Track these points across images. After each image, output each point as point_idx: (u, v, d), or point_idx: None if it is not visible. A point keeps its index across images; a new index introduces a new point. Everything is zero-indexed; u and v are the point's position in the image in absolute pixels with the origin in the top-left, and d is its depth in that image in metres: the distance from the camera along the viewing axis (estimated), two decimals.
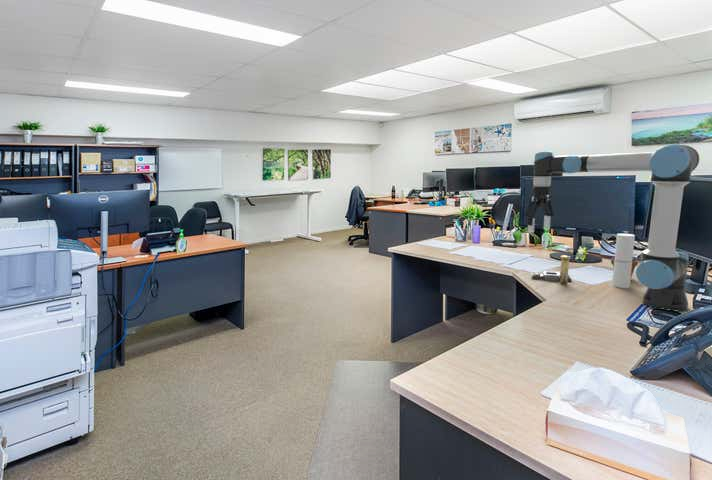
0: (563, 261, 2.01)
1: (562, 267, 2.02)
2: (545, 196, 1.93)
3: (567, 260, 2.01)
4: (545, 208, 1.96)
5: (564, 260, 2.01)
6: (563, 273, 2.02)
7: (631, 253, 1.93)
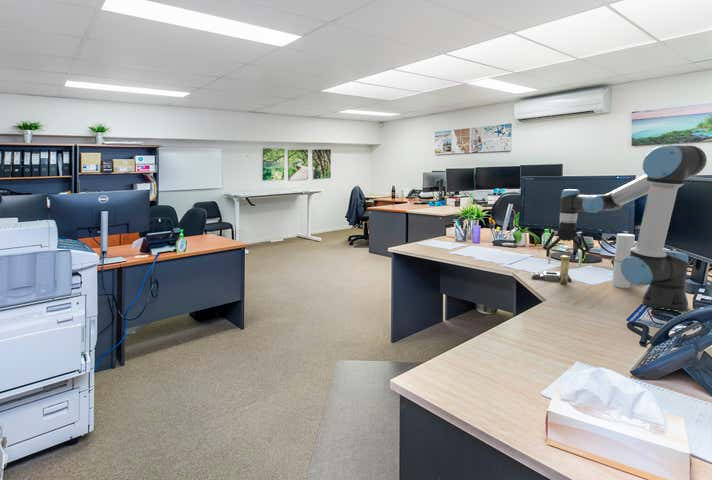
0: (563, 261, 2.01)
1: (562, 267, 2.02)
2: (571, 232, 1.98)
3: (567, 260, 2.01)
4: (576, 244, 1.99)
5: (564, 260, 2.01)
6: (563, 273, 2.02)
7: None
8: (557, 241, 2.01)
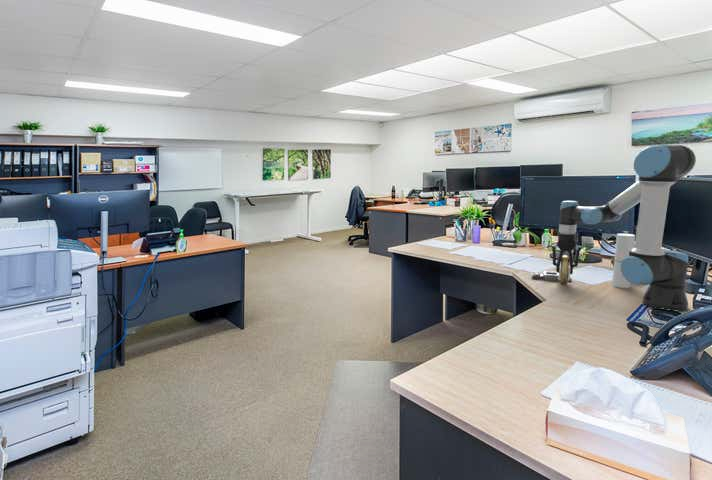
0: (563, 261, 2.01)
1: (562, 267, 2.02)
2: (572, 242, 1.99)
3: (567, 260, 2.01)
4: None
5: (564, 260, 2.01)
6: (563, 273, 2.02)
7: None
8: (561, 254, 2.01)
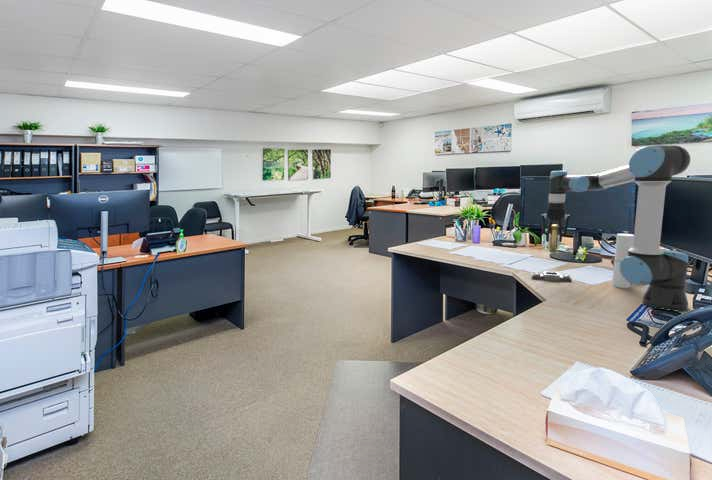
0: (552, 230, 2.07)
1: (551, 236, 2.08)
2: (561, 211, 2.05)
3: (556, 229, 2.07)
4: (558, 225, 2.07)
5: (553, 229, 2.07)
6: (552, 241, 2.08)
7: None
8: (551, 223, 2.07)
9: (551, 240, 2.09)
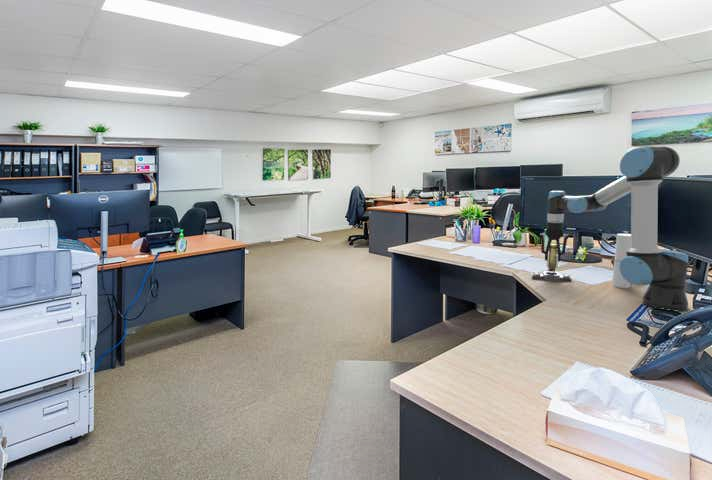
0: (551, 249, 2.09)
1: (550, 255, 2.10)
2: (560, 231, 2.07)
3: (555, 248, 2.09)
4: None
5: (552, 248, 2.09)
6: (551, 260, 2.10)
7: None
8: (549, 242, 2.09)
9: (550, 259, 2.10)
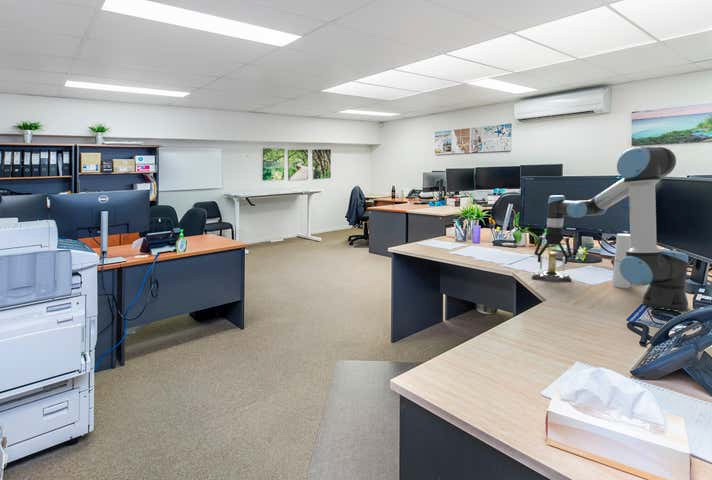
0: (551, 257, 2.10)
1: (550, 263, 2.11)
2: (558, 236, 2.07)
3: (554, 256, 2.09)
4: None
5: (551, 256, 2.10)
6: (550, 268, 2.11)
7: None
8: (546, 246, 2.10)
9: (549, 267, 2.11)
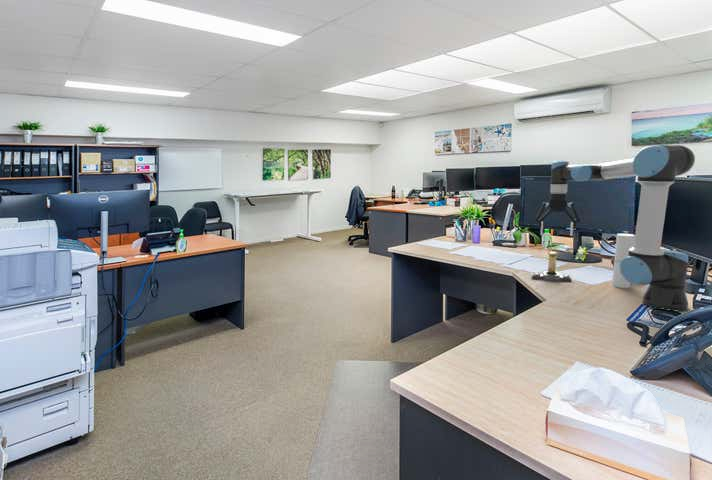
0: (551, 257, 2.10)
1: (550, 263, 2.11)
2: (562, 203, 2.03)
3: (554, 256, 2.09)
4: (567, 215, 2.04)
5: (551, 256, 2.10)
6: (550, 268, 2.11)
7: None
8: (548, 212, 2.06)
9: (549, 267, 2.11)
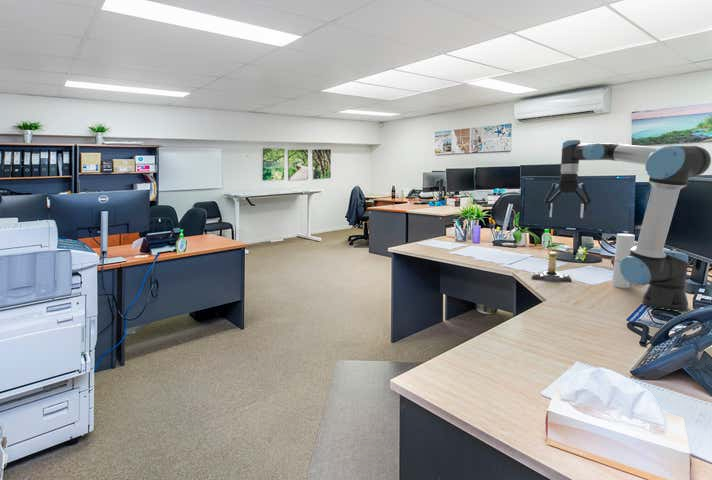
0: (551, 257, 2.10)
1: (550, 263, 2.11)
2: (573, 183, 1.97)
3: (554, 256, 2.09)
4: None
5: (551, 256, 2.10)
6: (550, 268, 2.11)
7: None
8: (558, 193, 2.00)
9: (549, 267, 2.11)
